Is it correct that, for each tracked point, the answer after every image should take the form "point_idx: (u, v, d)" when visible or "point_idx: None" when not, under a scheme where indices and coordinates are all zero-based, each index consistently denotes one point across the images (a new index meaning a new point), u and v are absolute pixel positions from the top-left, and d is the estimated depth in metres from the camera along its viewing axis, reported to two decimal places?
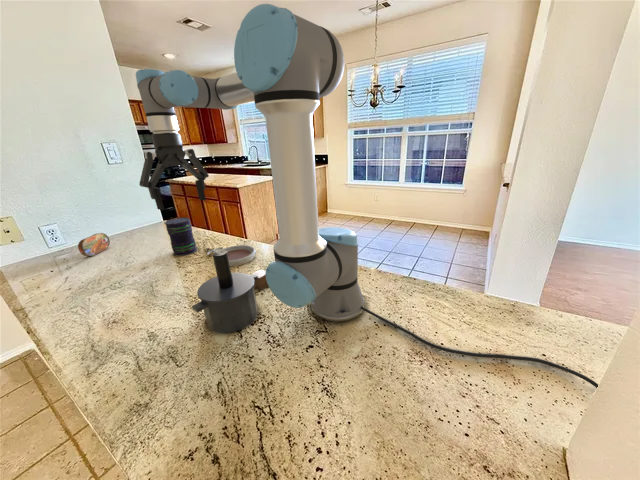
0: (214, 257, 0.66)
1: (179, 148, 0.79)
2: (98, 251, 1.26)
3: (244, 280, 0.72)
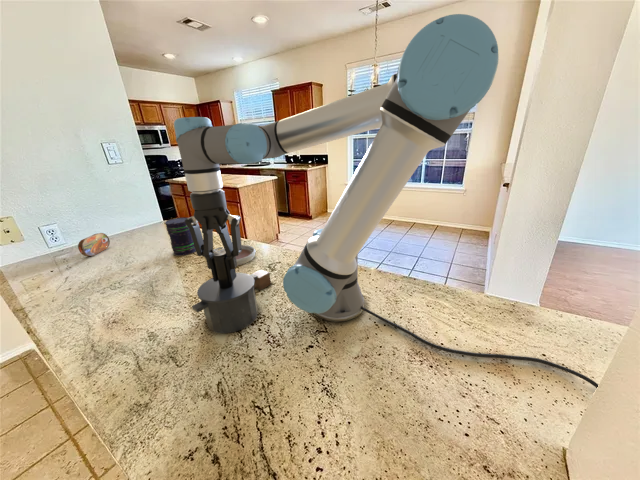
0: (214, 257, 0.66)
1: (218, 210, 0.61)
2: (98, 251, 1.26)
3: (244, 280, 0.72)
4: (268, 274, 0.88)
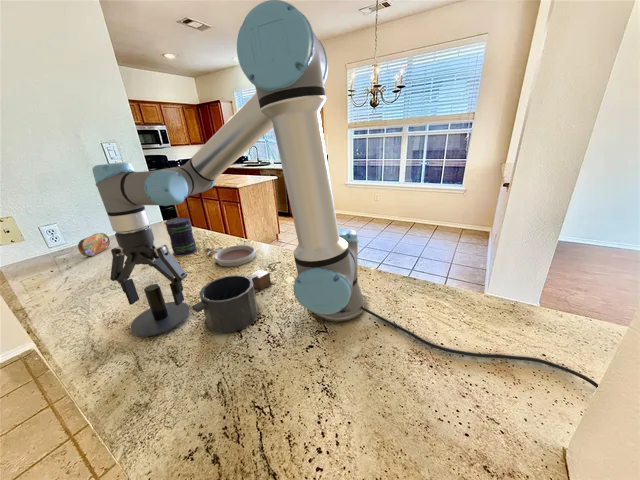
0: (145, 292, 0.69)
1: (144, 247, 0.65)
2: (98, 251, 1.26)
3: (180, 311, 0.76)
4: (268, 274, 0.88)
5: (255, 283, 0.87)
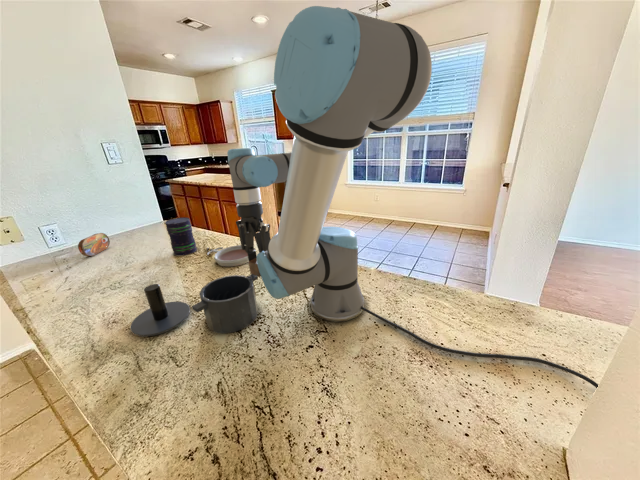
0: (145, 292, 0.69)
1: (253, 218, 0.78)
2: (98, 251, 1.26)
3: (180, 311, 0.76)
4: None
5: (253, 270, 0.85)
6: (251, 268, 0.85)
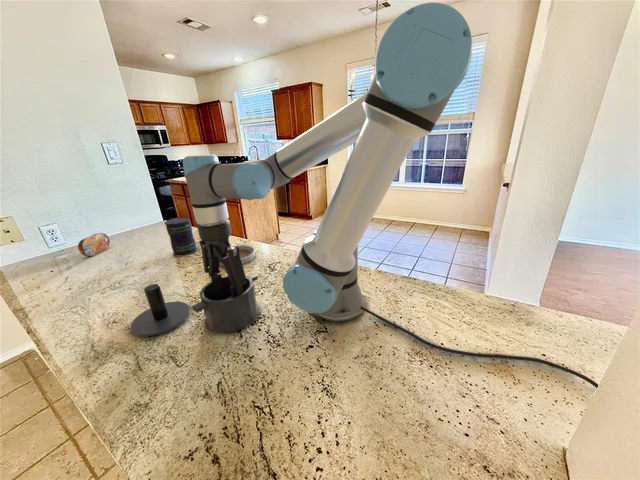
0: (145, 292, 0.69)
1: (218, 241, 0.63)
2: (98, 251, 1.26)
3: (180, 311, 0.76)
4: None
5: None
6: None
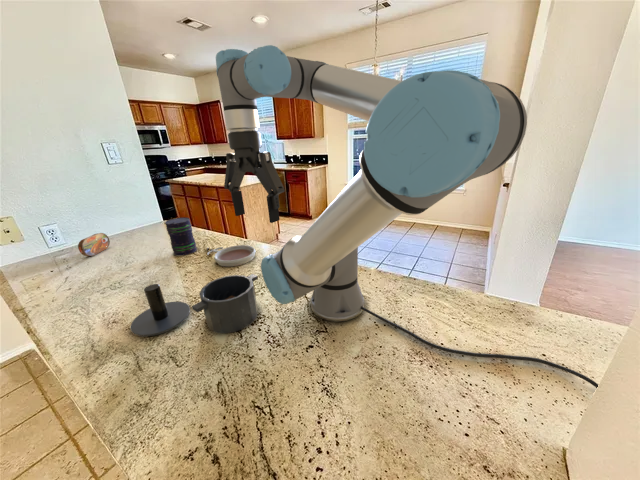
0: (145, 292, 0.69)
1: (249, 151, 0.61)
2: (98, 251, 1.26)
3: (180, 311, 0.76)
4: None
5: None
6: None
